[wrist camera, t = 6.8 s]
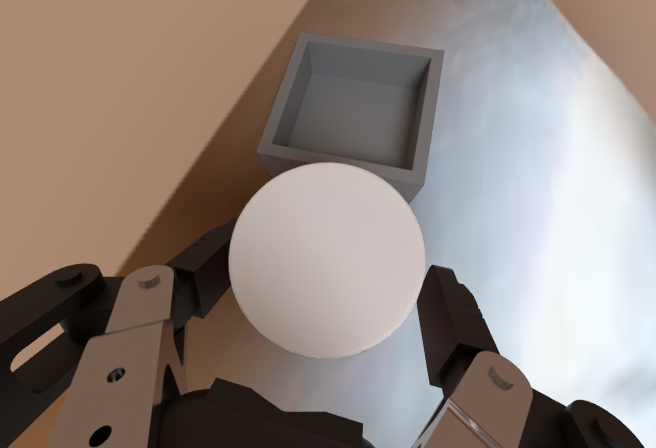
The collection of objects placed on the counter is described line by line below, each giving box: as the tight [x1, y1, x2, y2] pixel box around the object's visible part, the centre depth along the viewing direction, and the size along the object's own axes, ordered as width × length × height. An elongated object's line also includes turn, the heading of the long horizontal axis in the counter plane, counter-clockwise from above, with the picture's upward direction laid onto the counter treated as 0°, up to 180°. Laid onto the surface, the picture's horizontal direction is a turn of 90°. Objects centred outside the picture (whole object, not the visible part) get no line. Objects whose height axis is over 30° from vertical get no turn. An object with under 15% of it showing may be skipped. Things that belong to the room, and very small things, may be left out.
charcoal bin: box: [256, 32, 444, 205], centre depth 17 cm, size 11×11×4 cm
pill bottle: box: [229, 162, 425, 359], centre depth 11 cm, size 6×6×11 cm
